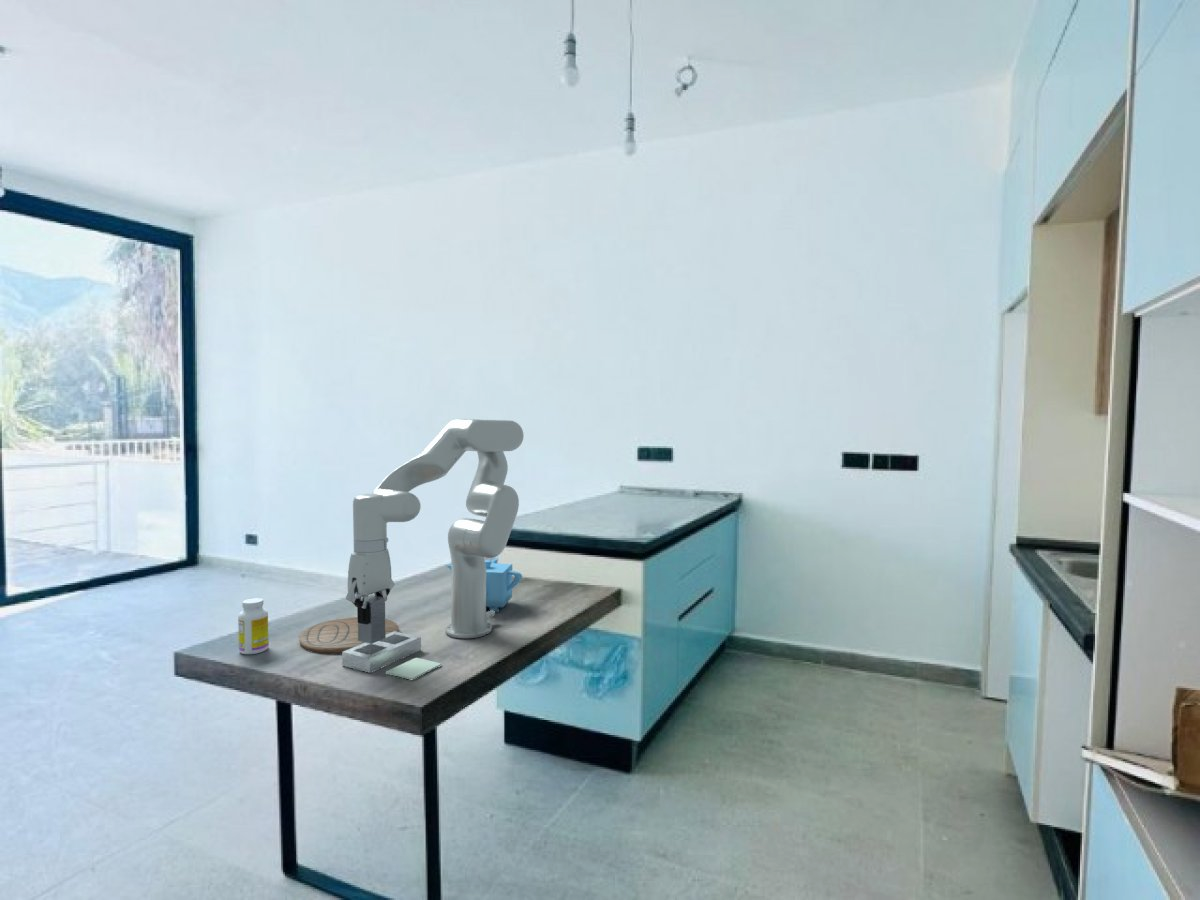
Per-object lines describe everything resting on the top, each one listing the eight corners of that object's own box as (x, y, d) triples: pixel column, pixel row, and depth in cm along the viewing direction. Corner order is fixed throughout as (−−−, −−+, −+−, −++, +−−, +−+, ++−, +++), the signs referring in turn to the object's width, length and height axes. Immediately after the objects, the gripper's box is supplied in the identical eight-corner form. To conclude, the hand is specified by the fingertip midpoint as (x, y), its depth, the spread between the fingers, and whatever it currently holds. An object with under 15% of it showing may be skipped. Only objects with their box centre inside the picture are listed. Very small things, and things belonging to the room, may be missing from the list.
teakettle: (526, 608, 203) (526, 562, 203) (472, 619, 191) (473, 570, 191) (495, 595, 218) (495, 552, 217) (443, 604, 206) (443, 559, 205)
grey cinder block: (394, 644, 170) (394, 631, 170) (420, 650, 166) (420, 636, 166) (342, 666, 155) (342, 651, 155) (369, 673, 151) (369, 658, 151)
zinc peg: (372, 635, 160) (371, 595, 159) (385, 638, 158) (384, 597, 157) (358, 640, 156) (357, 599, 155) (371, 643, 154) (370, 602, 153)
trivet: (395, 619, 192) (395, 613, 191) (401, 648, 168) (401, 641, 168) (302, 628, 182) (302, 622, 182) (295, 660, 159) (295, 652, 159)
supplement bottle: (273, 645, 168) (272, 596, 167) (260, 655, 161) (260, 604, 160) (247, 645, 167) (246, 596, 167) (233, 655, 161) (232, 604, 160)
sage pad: (416, 659, 160) (416, 657, 160) (441, 666, 156) (441, 663, 156) (385, 674, 151) (385, 671, 151) (411, 680, 147) (411, 678, 147)
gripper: (385, 538, 165) (386, 608, 166) (330, 550, 150) (332, 628, 151) (407, 540, 161) (408, 613, 163) (353, 554, 146) (355, 633, 147)
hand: (371, 619), depth 157 cm, fingers closed on zinc peg, 4 cm apart
